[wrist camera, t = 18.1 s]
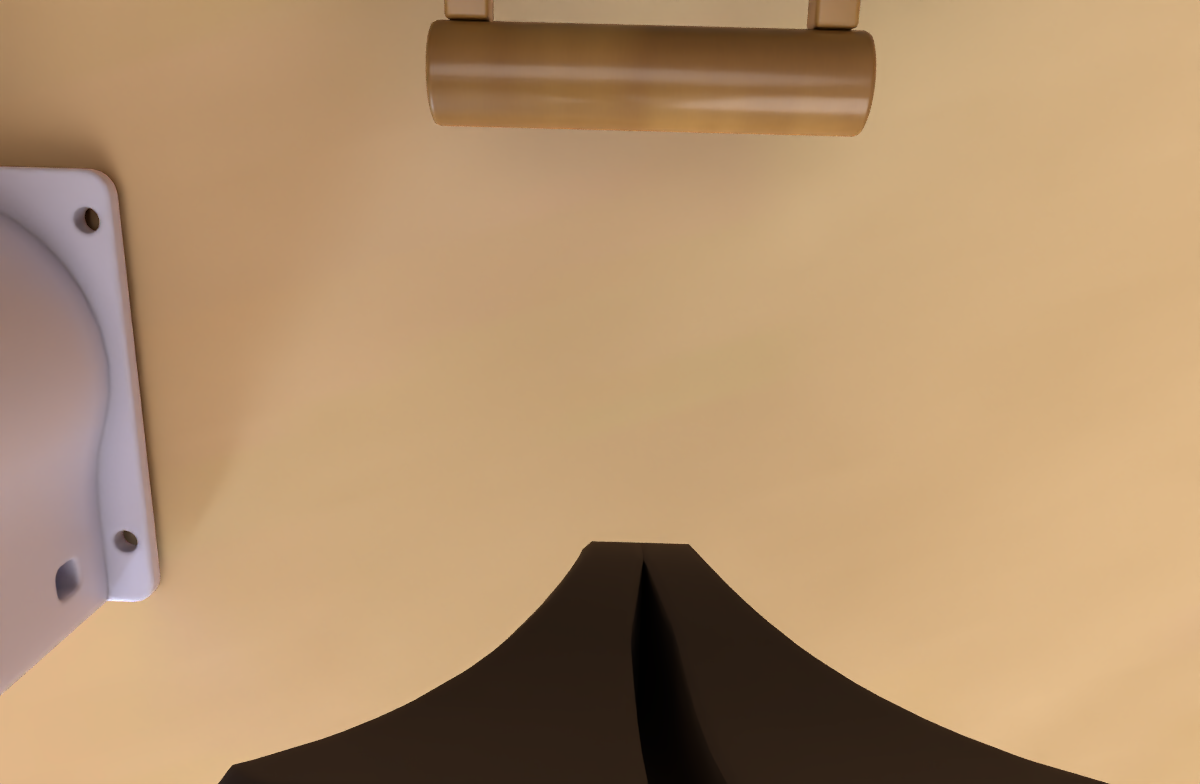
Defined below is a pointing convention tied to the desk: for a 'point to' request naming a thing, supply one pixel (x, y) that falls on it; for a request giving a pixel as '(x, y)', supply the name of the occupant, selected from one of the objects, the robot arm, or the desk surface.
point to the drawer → (652, 74)
